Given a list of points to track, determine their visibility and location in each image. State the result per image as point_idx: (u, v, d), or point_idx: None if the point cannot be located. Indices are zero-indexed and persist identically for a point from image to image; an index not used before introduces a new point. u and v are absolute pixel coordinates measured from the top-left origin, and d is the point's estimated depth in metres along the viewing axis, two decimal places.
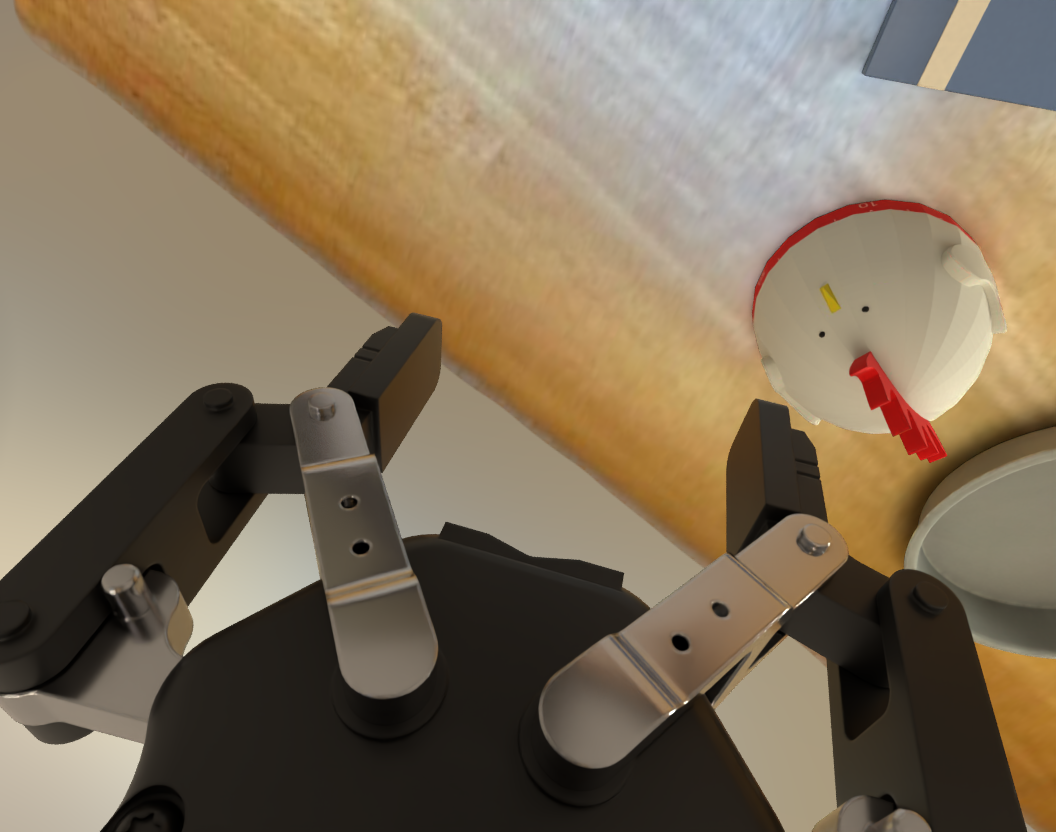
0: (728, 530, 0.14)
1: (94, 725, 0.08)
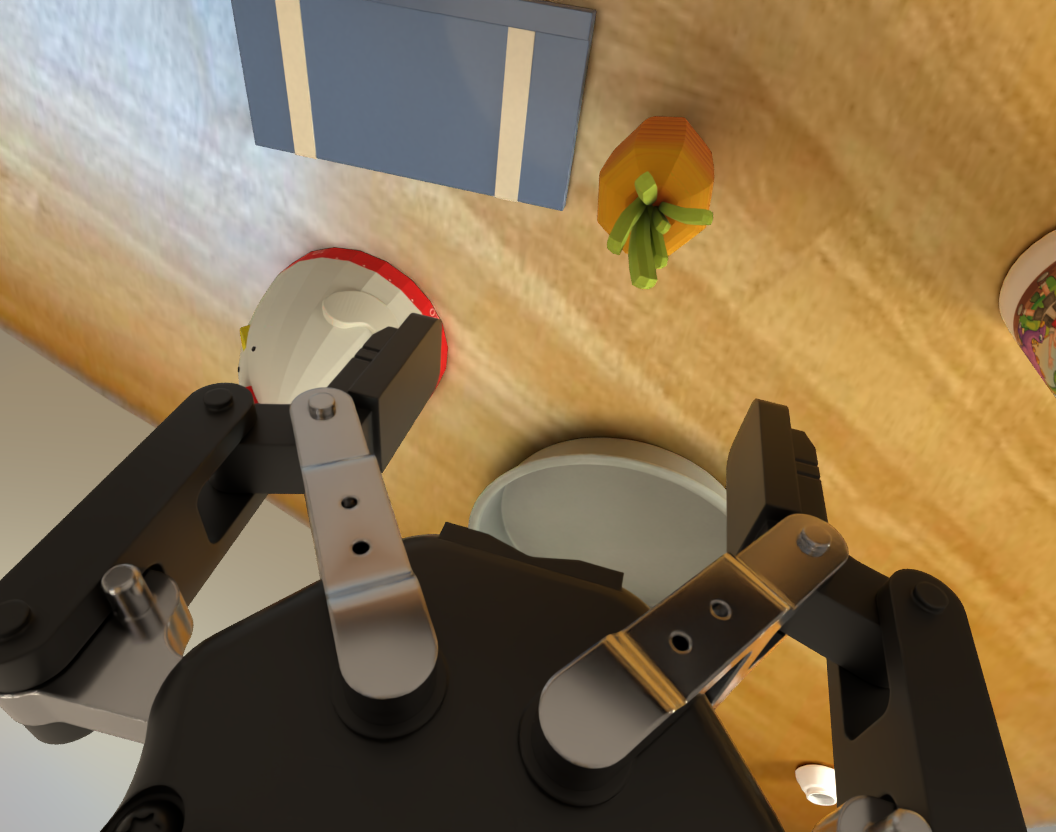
0: (728, 530, 0.14)
1: (94, 725, 0.08)
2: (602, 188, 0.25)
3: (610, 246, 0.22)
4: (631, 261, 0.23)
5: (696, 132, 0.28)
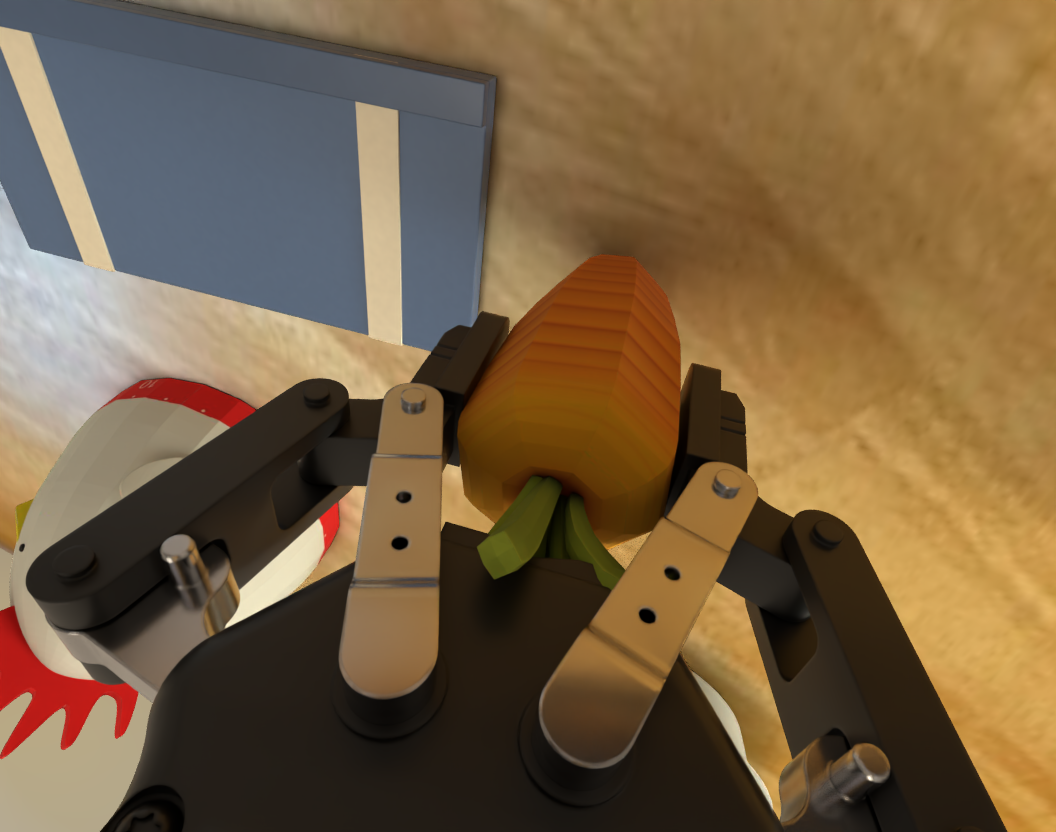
0: None
1: (125, 678, 0.09)
2: (461, 449, 0.13)
3: None
4: None
5: (656, 297, 0.16)
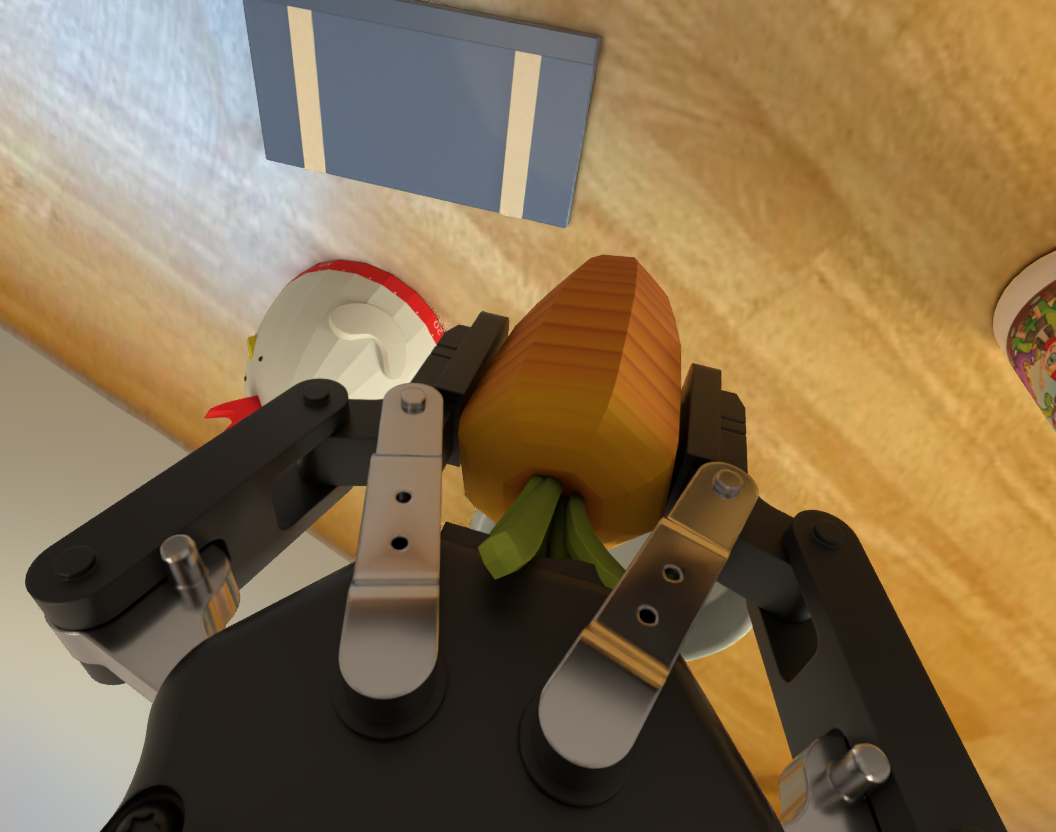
0: None
1: (125, 678, 0.09)
2: (461, 450, 0.13)
3: None
4: None
5: (656, 298, 0.16)
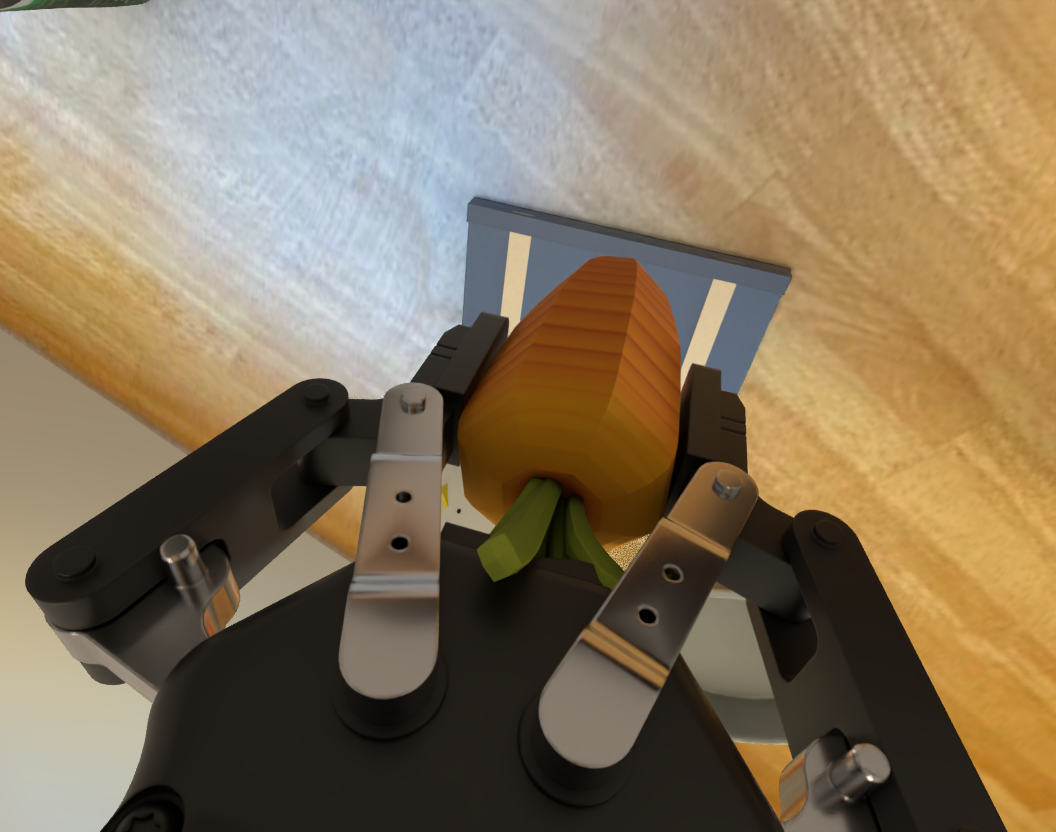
0: None
1: (125, 678, 0.09)
2: (461, 451, 0.13)
3: None
4: None
5: (656, 299, 0.16)
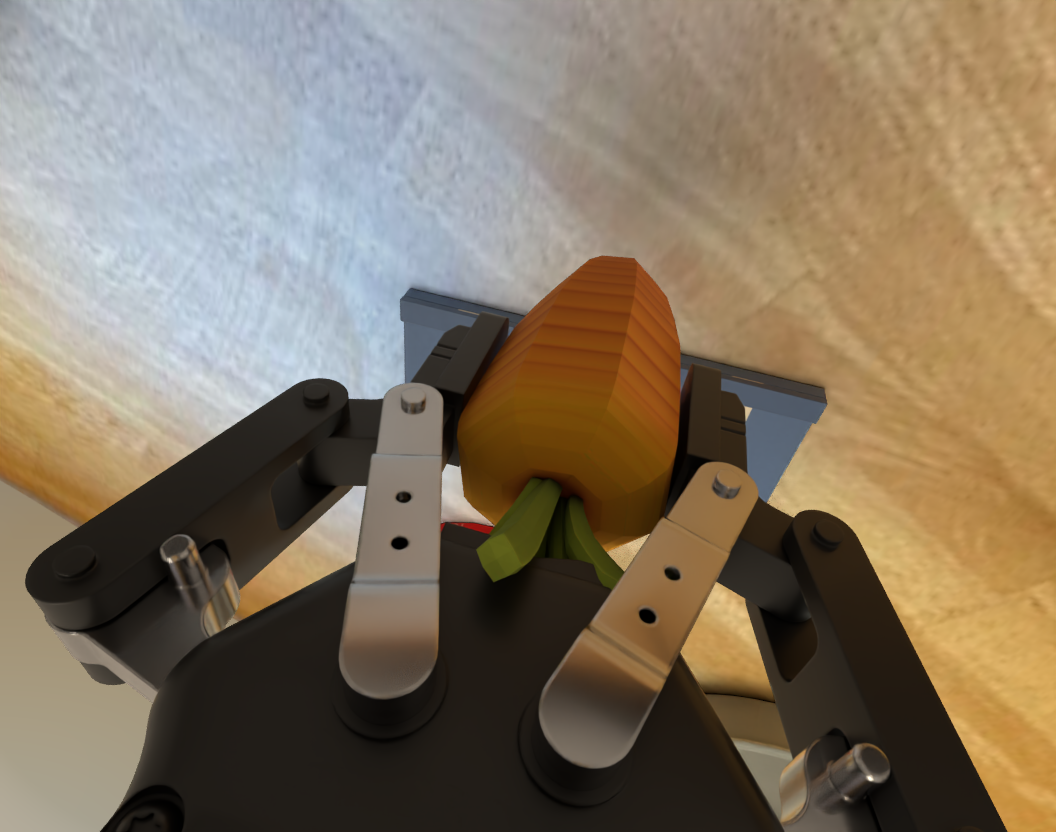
0: None
1: (125, 678, 0.09)
2: (461, 451, 0.13)
3: None
4: None
5: (656, 299, 0.16)
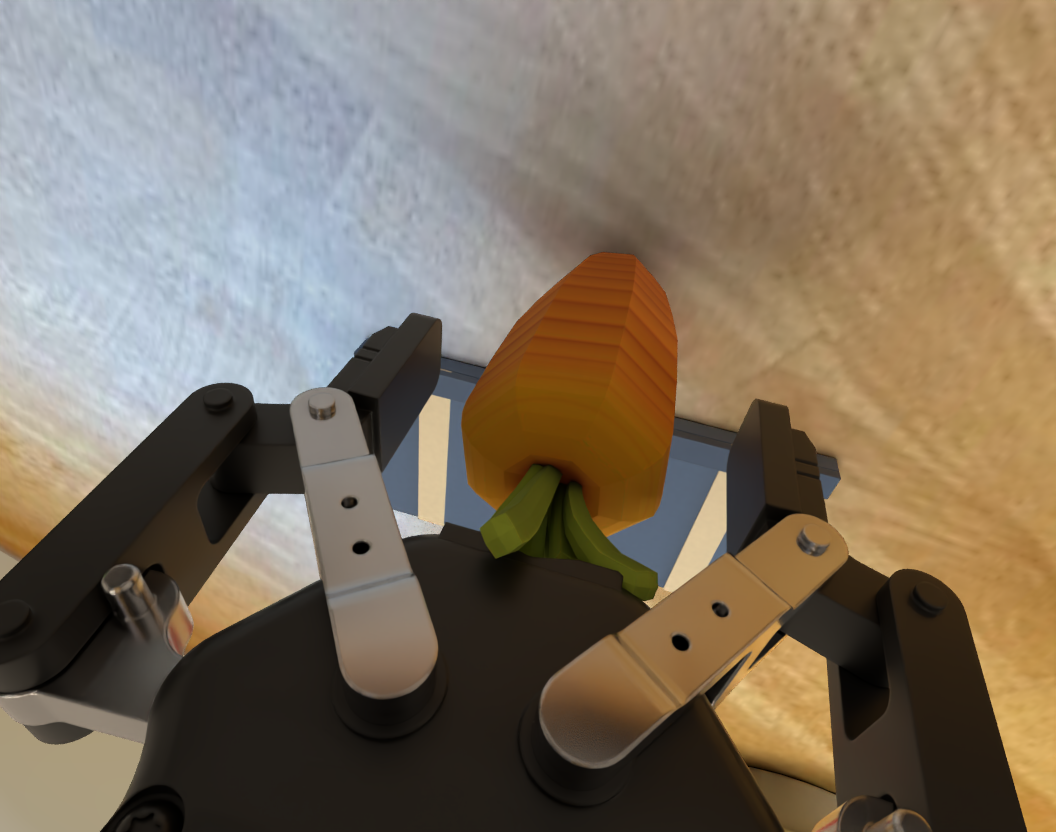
0: (728, 530, 0.14)
1: (94, 725, 0.08)
2: (464, 439, 0.13)
3: None
4: None
5: (654, 294, 0.17)
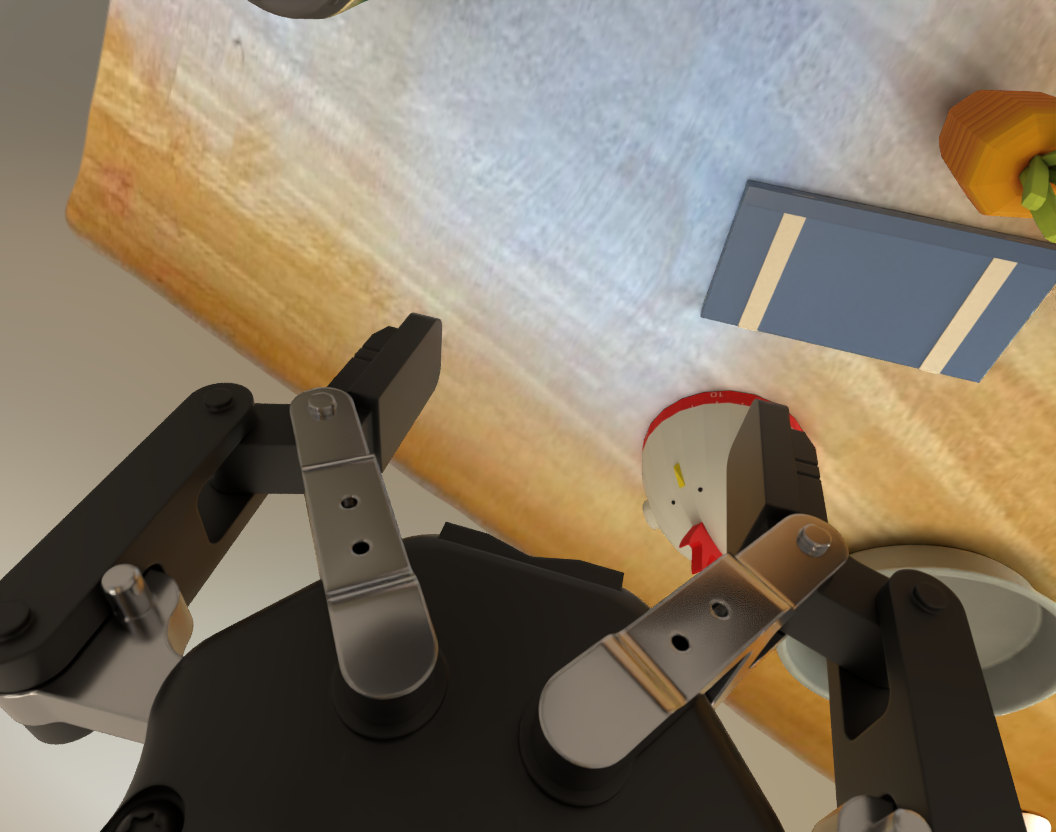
0: (728, 530, 0.14)
1: (94, 725, 0.08)
2: (986, 152, 0.26)
3: (1029, 202, 0.24)
4: (1042, 217, 0.24)
5: None
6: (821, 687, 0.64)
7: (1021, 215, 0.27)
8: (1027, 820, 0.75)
